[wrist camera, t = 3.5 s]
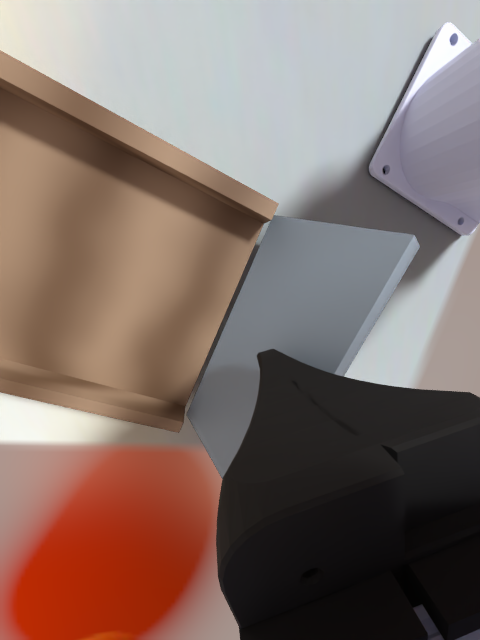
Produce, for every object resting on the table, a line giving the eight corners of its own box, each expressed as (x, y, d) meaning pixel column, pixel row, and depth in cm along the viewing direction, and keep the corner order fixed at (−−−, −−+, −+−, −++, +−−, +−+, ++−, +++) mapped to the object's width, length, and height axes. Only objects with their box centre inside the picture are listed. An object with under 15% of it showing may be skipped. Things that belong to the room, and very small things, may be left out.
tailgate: (287, 226, 13) (422, 250, 8) (203, 412, 16) (267, 512, 11) (273, 215, 13) (414, 234, 8) (186, 414, 15) (247, 524, 10)
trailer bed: (261, 214, 14) (290, 196, 10) (183, 397, 17) (176, 453, 13) (-52, 49, 10) (-269, -121, 6) (-84, 325, 13) (-244, 368, 8)
